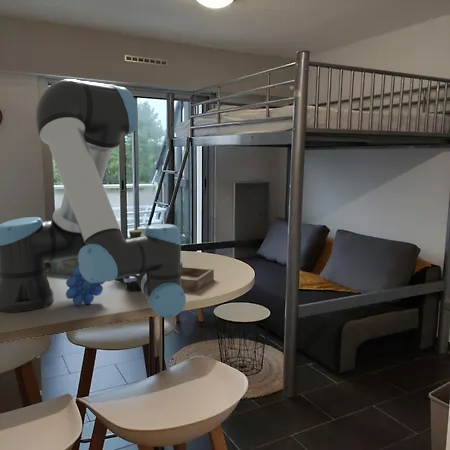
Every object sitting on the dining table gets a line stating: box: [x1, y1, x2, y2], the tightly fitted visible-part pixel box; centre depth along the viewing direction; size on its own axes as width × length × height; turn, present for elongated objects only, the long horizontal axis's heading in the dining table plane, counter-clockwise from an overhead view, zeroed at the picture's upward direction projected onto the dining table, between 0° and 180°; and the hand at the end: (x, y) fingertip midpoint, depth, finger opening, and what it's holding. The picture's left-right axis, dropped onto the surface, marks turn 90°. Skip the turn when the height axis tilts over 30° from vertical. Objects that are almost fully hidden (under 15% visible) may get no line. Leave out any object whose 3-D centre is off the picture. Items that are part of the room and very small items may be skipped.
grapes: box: [65, 266, 105, 306], centre depth 119 cm, size 12×7×12 cm, turn 132°
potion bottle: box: [125, 229, 142, 292], centre depth 132 cm, size 8×8×18 cm
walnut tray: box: [181, 265, 215, 293], centre depth 139 cm, size 14×14×4 cm
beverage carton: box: [45, 258, 79, 276], centre depth 152 cm, size 8×19×7 cm, turn 71°
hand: (141, 263), depth 124 cm, fingers open, 13 cm apart
